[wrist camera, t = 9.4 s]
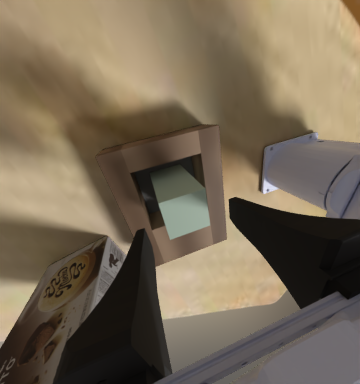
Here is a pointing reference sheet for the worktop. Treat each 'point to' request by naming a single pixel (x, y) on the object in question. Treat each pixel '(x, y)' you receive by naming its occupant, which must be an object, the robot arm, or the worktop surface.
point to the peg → (180, 201)
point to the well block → (145, 194)
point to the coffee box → (58, 312)
